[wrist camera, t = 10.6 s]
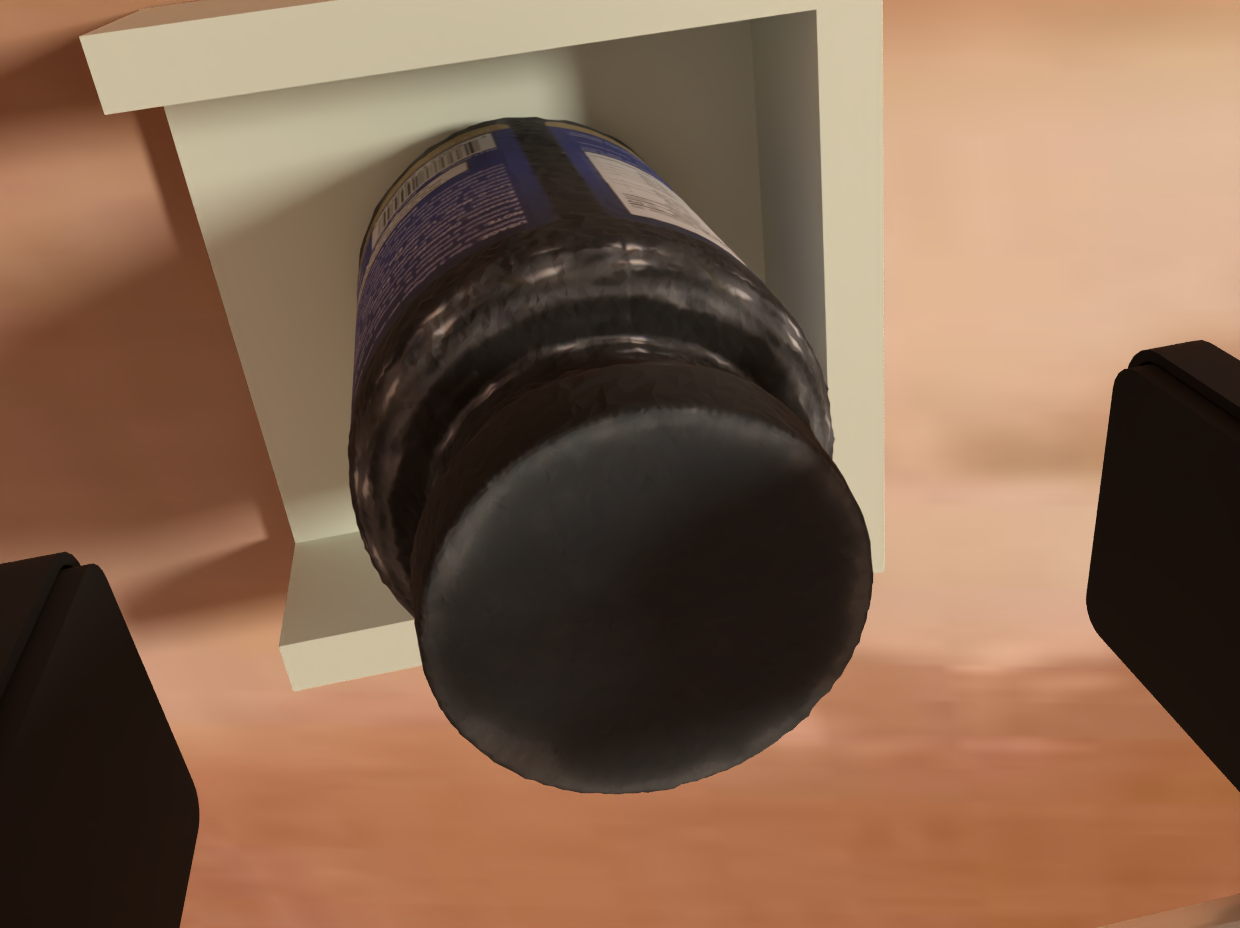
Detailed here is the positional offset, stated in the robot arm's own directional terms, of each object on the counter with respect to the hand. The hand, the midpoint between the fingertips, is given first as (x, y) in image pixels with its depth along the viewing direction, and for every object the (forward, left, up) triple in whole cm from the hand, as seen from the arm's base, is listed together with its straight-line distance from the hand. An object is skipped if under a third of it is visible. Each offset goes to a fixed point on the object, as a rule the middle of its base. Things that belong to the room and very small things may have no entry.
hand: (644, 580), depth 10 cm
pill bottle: (+1, 0, -12) cm, 12 cm away
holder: (+1, 0, -12) cm, 12 cm away
